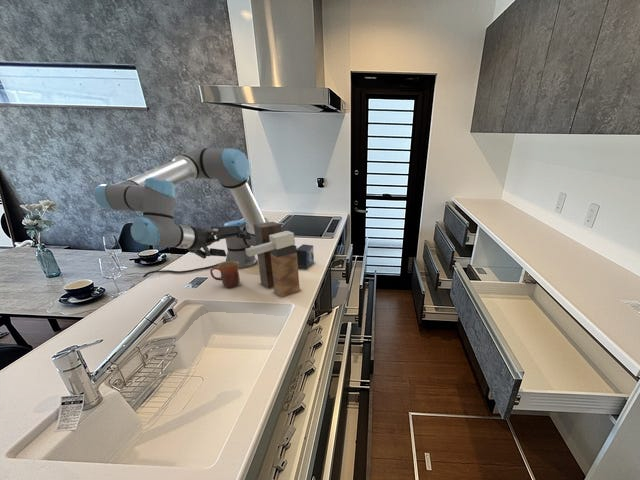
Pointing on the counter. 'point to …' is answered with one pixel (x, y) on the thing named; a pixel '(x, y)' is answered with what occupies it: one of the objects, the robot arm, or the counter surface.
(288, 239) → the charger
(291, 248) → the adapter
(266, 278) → the tall pedestal
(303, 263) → the small box
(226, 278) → the mug
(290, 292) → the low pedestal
